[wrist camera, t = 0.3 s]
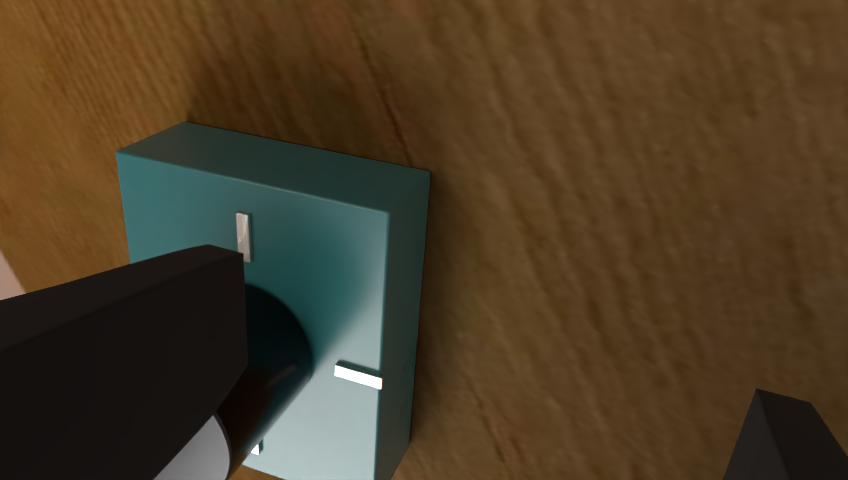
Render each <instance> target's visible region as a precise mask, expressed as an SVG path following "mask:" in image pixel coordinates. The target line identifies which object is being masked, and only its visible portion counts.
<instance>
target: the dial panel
mask: <svg viewBox="0 0 848 480" xmlns="http://www.w3.org/2000/svg"><path fill="white" fill-rule="evenodd" d="M116 159H117V167H118V174H119V182H120V189H121V197H122V204H123V212H124V219H125V227H126V234H127V242H128V249H129V257H130V264H132V263H135V262H139V261H142V260H146V259H149V258H153V257H156V256H160V255H163V254H167V253H171V252H175V251H179V250H182V249H187V248H191V247H196V246H201V245H207V244H210V245H214V246H218V247H222V248H225V249H229V250H233V251H237V252H241V253H244V277H245V284H249V285H252V286H255V287H257V288H259V289H262V290H264V291H265V292H267V293H269V294H270V295H272V296H273V297H275V298H276V299H277V300H279V301H280V302H281V303H282V304H283V305H284V306H286V307H287V309H288V310H289V311H290V312H291V313H292V314H293V315H294V317H295V318H296V319H297V321H298V322H299V324H300V325H301V327H302V329H303V330H304V333H305V335H306V337H307V339H308V342H309V345H310V350H311V356H312V367H311V373H310V378H309V380H308V382H307V384H306V386H305V387H304V389H303V390H302V391H301V393H300V394H299V395H298V396H297V398H296V399H295V400H294V401H293V402H292V404H291V405H290V406H289V407H288V408H287V410H286V411H285V412H284V413H283V414H282V416H281V417H280V418H279V419H278V420H277V422H276V423H275V424H274V425H273V427H272V428H271V429H270V430H269V431H268V433H267V434H266V435H265V436H264V437H263V439H262V440H261V441H260V442H259V443H258V445H257V446H256V447H255V448H254V450H253V451H252V452H251V453H250V454H249V456H248V457H247V458H246V459H245V460H244V462H243V463H242V464H241V465H243V466H246V467H249V468H252V469H255V470H258V471H261V472H264V473H266V474H269V475H272V476H275V477H278V478H281V479H284V480H391V478H392V476H393V474H394V472H395V471H396V469H397V467H398V465H399V463H400V461H401V460H402V458H403V456H404V454H405V452H406V451H407V449H408V447H409V436H410V423H411V411H412V399H413V386H414V374H415V361H416V349H417V337H418V324H419V312H420V299H421V287H422V275H423V262H424V250H425V237H426V225H427V213H428V200H429V188H430V176H431V174H430V172H429V171H425V170H420V169H415V168H410V167H405V166H401V165H396V164H391V163H386V162H381V161H376V160H371V159H366V158H361V157H356V156H351V155H346V154H342V153H337V152H332V151H327V150H322V149H317V148H312V147H307V146H302V145H297V144H292V143H287V142H283V141H278V140H273V139H268V138H263V137H258V136H253V135H248V134H243V133H238V132H233V131H228V130H224V129H219V128H214V127H209V126H204V125H199V124H194V123H189V122H182V123H179V124H177V125H175V126H173V127H170V128H168V129H166V130H163V131H161V132H159V133H157V134H154V135H152V136H150V137H147V138H145V139H143V140H140V141H138V142H136V143H134V144H131V145H129V146H127V147H124V148H122V149H120V150H118V151H116Z"/></svg>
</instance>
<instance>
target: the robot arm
mask: <svg viewBox="0 0 848 480" xmlns="http://www.w3.org/2000/svg"><path fill="white" fill-rule="evenodd" d="M247 365H248V350H247V326H246V301H245V277H244V253H241V252H237V251H233V250H229V249H225V248H222V247H218V246H214V245H210V244H207V245H201V246H196V247H191V248H187V249H182V250H179V251H175V252H171V253H167V254H163V255H160V256H156V257H153V258H149V259H146V260H142V261H139V262H135V263H132V264H129V265H125V266H122V267H118V268H115V269H112V270H108V271H105V272H102V273H98V274H95V275H91V276H88V277H85V278H81V279H78V280H74V281H71V282H68V283H64V284H61V285H57V286H53V287H49V288H45V289H42V290H38V291H34V292H30V293H27V294H23V295H19V296H15V297H11V298H8V299H4V300H0V480H154V479H155V478H156V477H157V476H158V475H159V474H160V472H161V471H162V470H163V469H164V468H165V467H166V466H167V465H168V464H169V463H170V462H171V461H172V460H173V459H174V458H175V456H176V455H177V454H178V453H179V452H180V451H181V450H182V449H183V448H184V447H185V446H186V445H187V443H188V442H189V441H190V440H191V439H192V438H193V437H194V436H195V435H196V434H197V433H198V432H199V430H200V429H201V428H202V427H203V426H204V425H205V424H206V423H207V421H208V420H209V419H210V418H211V417H212V416H213V414H214V413H215V412H216V410H217V409H218V407H219V406H220V405H221V403H222V402H223V401H224V399H225V398H226V396H227V395H228V394H229V392H230V391H231V389H232V388H233V386H234V385H235V383H236V382H237V380H238V379H239V377H240V376H241V374H242V373H243V371H244V370H245V368H246V367H247ZM723 480H848V457H847V456H846V454H845V453H844V451H843V450H842V448H841V447H840V445H839V444H838V442H837V441H836V439H835V438H834V436H833V435H832V433H831V432H830V430H829V429H828V427H827V426H826V424H825V423H824V421H823V420H822V418H821V417H820V415H819V414H818V412H817V411H816V410H815V408H814V407H813V405H812V404H811V403H810V402H806V401H802V400H798V399H795V398H791V397H787V396H783V395H779V394H776V393H772V392H768V391H764V390H760V389H757V388H756V391H755V394H754V396H753V399H752V402H751V404H750V407H749V410H748V413H747V415H746V418H745V421H744V424H743V426H742V429H741V432H740V434H739V437H738V440H737V443H736V445H735V448H734V451H733V454H732V456H731V459H730V462H729V464H728V467H727V470H726V473H725V475H724V478H723Z"/></svg>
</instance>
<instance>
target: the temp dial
mask: <svg viewBox="0 0 848 480" xmlns="http://www.w3.org/2000/svg"><path fill="white" fill-rule="evenodd" d="M245 301H246V326H247V350H248V365H247V367H246V368H245V370H244V371H243V373H242V374H241V376H240V377H239V379H238V380H237V382H236V383H235V385H234V386H233V388H232V389H231V391H230V392H229V394H228V395H227V396H226V398H225V399H224V401H223V402H222V403H221V405H220V406H219V407H218V409H217V410H216V412H215V413H214V414H213V416H212V417H211V418H210V419H209V420H208V421H207V423H206V424H205V425H204V426H203V427H202V428H201V429H200V430H199V432H198V433H197V434H196V435H195V436H194V437H193V438H192V439H191V440H190V441H189V442H188V443H187V445H186V446H185V447H184V448H183V449H182V450H181V451H180V452H179V453H178V454H177V455H176V456H175V458H174V459H173V460H172V461H171V462H170V463H169V464H168V465H167V466H166V467H165V468H164V469H163V470H162V471H161V472H160V474H159V475H158V476H157V477H156V478H155V479H154V480H229V479H230V477H231V476H232V475H233V474H234V473H235V471H236V470H237V469H238V468H239V466H240V465H241V464H242V463H243V462H244V460H245V459H246V458H247V457H248V456H249V454H250V453H251V452H252V451H253V450H254V448H255V447H256V446H257V445H258V443H259V442H260V441H261V440H262V439H263V437H264V436H265V435H266V434H267V433H268V431H269V430H270V429H271V428H272V427H273V425H274V424H275V423H276V422H277V420H278V419H279V418H280V417H281V416H282V414H283V413H284V412H285V411H286V410H287V408H288V407H289V406H290V405H291V404H292V402H293V401H294V400H295V399H296V398H297V396H298V395H299V394H300V393H301V391H302V390H303V389H304V387H305V386H306V384H307V382H308V380H309V378H310V373H311V367H312V356H311V350H310V345H309V342H308V339H307V337H306V335H305V333H304V330H303V329H302V327H301V325H300V324H299V322H298V321H297V319H296V318H295V317H294V315H293V314H292V313H291V312H290V311H289V310H288V309H287V307H286V306H284V305H283V304H282V303H281V302H280V301H279V300H277V299H276V298H275V297H273V296H272V295H270V294H269V293H267V292H265V291H264V290H262V289H259V288H257V287H255V286H252V285H249V284H245Z"/></svg>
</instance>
